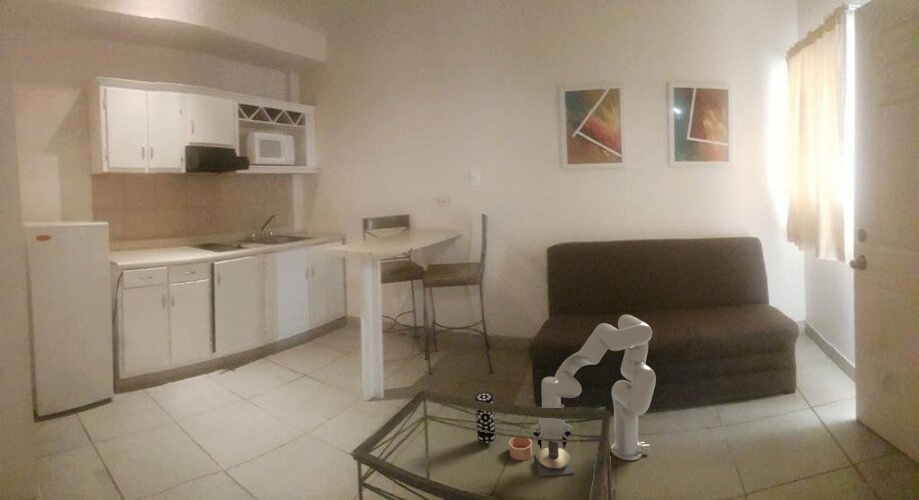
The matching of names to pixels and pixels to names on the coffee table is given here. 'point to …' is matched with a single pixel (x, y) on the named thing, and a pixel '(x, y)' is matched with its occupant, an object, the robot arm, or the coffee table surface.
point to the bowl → (520, 448)
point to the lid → (553, 456)
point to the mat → (554, 469)
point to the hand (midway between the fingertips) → (552, 446)
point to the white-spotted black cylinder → (485, 419)
